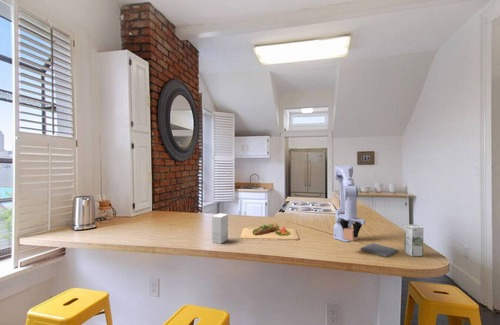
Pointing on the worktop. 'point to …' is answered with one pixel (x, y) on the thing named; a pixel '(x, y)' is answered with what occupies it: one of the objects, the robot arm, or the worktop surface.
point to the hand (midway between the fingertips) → (350, 235)
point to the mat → (379, 250)
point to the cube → (349, 234)
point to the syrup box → (414, 240)
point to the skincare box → (219, 228)
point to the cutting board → (269, 233)
